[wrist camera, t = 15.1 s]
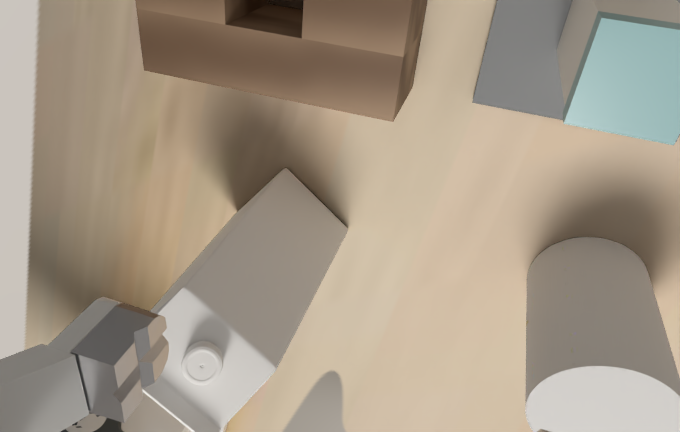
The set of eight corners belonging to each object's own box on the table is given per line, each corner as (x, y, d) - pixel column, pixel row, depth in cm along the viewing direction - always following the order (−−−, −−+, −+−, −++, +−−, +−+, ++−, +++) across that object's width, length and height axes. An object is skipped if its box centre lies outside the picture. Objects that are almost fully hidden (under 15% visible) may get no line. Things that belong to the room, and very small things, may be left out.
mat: (673, 138, 32) (675, 141, 31) (473, 99, 34) (472, 102, 33) (787, -93, 25) (792, -93, 24) (527, -122, 27) (527, -122, 27)
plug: (631, 64, 30) (673, 145, 21) (554, 51, 30) (563, 123, 22) (663, -15, 27) (727, 37, 18) (579, -27, 28) (601, 17, 19)
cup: (504, 287, 41) (496, 414, 31) (578, 216, 36) (596, 341, 26) (591, 341, 41) (610, 484, 31) (677, 278, 36) (730, 425, 27)
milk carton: (295, 268, 46) (180, 461, 31) (236, 212, 45) (84, 385, 30) (349, 228, 42) (247, 428, 27) (286, 165, 41) (140, 338, 26)
